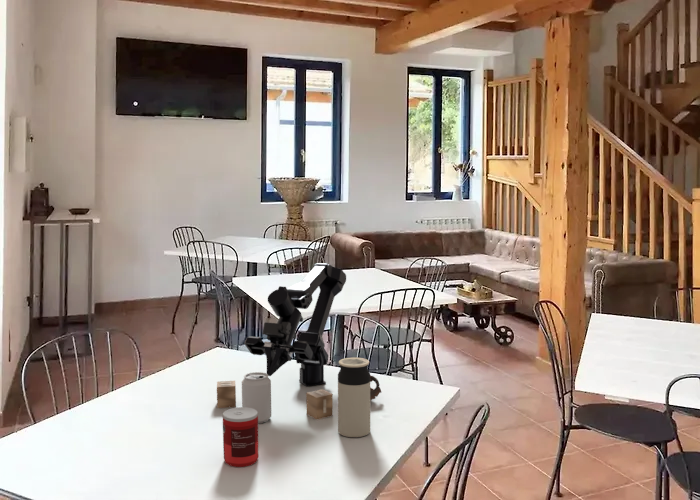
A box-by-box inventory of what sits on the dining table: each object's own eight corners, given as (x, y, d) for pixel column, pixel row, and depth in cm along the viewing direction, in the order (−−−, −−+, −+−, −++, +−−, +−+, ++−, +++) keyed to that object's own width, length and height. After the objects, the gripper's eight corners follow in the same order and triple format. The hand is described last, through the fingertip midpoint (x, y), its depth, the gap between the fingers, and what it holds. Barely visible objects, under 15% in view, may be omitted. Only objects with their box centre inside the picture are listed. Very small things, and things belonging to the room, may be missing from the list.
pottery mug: (383, 396, 198) (386, 376, 193) (372, 420, 191) (375, 400, 186) (344, 382, 201) (347, 363, 196) (332, 405, 194) (334, 385, 189)
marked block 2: (322, 410, 185) (322, 388, 185) (332, 416, 181) (332, 393, 180) (306, 414, 182) (306, 392, 182) (316, 420, 178) (316, 397, 178)
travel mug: (359, 440, 164) (359, 367, 162) (331, 434, 168) (331, 362, 166) (376, 430, 171) (376, 359, 169) (349, 424, 175) (348, 355, 173)
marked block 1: (235, 401, 193) (235, 380, 192) (236, 407, 188) (235, 385, 188) (217, 402, 192) (216, 381, 192) (217, 408, 187) (216, 386, 187)
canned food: (240, 450, 159) (239, 404, 157) (266, 458, 154) (265, 411, 153) (216, 462, 152) (214, 414, 151) (242, 470, 148) (241, 421, 147)
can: (266, 425, 174) (265, 379, 173) (238, 423, 176) (237, 378, 174) (275, 415, 181) (274, 371, 180) (248, 413, 183) (247, 370, 182)
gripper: (247, 307, 190) (226, 356, 181) (308, 312, 183) (289, 363, 174) (261, 329, 198) (242, 377, 189) (320, 335, 191) (303, 384, 182)
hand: (268, 375), depth 183 cm, fingers closed
